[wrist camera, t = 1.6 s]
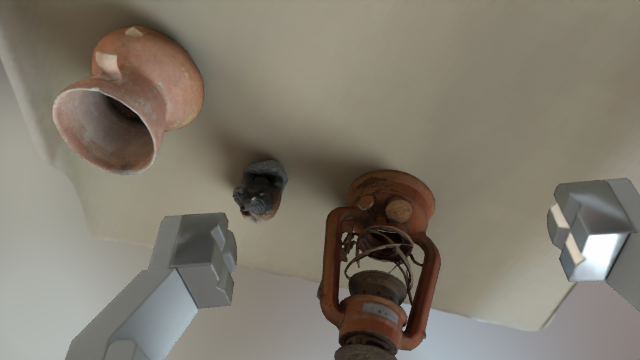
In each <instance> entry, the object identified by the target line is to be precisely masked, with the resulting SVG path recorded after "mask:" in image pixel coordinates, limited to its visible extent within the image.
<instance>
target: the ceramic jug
mask: <svg viewBox="0 0 640 360" xmlns="http://www.w3.org/2000/svg"><path fill="white" fill-rule="evenodd" d="M92 74H93V77H88V78H85V79H82V80H80V81H78V82H76V83H74V84H72V85H70V86H68V87H67V88H65V89H64V90H63V91H62V92H61V93H60V94H59V95H58V96H57V97H56V99H55V101H54V103H53V107H52V116H53V120H54V123H55V125H56V127H57V129H58V131H59V133H60V135H61V136H62V137H63V138H64V140H65V141H66V143H67V144H68V145H69V146H70V147H71V148H72V150H73V151H74V152H75V153H77V154H78V155H79V156H80V157H81V158H82V159H84V160H85V161H86V162H87V163H89V164H91V165H92V166H94V167H96V168H98V169H102V170H104V171H106V172H108V173H112V174H116V175H136V174H139V173H142V172H143V171H145V170H147V169H148V168H149V167H150V166H151V165H152V164H153V162H154V160H155V159H156V156H157V154H158V152H159V149H160V146H161V143H162V140H163V136H164V131H172V130H177V129H180V128H183V127H185V126H186V125H188V124H190V123H191V122H192V121H193V120H194V119H195V118H196V117H197V115H198V114H199V112H200V110H201V107H202V104H203V100H204V85H203V80H202V77H201V74H200V72H199V70H198V68H197V66H196V64H195V63H194V61H193V60H192V58H191V57H190V55H189V54H188V53H187V52H186V51H185V50H184V49H183V48H182V47H181V46H180V45H179V44H178V43H176V42H175V41H174V40H172V39H170V38H169V37H167V36H165V35H163V34H161V33H159V32H157V31H154V30H151V29H148V28H145V27H142V26H139V25H134V26H132V27H126V28H121V29H117V30H114V31H112V32H110V33H108V34H107V35H105V36H104V37H103V38H102V39H101V40H100V41H99V42H98V44H97V45H96V47H95V50H94V52H93V56H92Z"/></svg>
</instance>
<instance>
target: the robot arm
mask: <svg viewBox="0 0 640 360" xmlns="http://www.w3.org/2000/svg"><path fill="white" fill-rule="evenodd" d="M554 197H555V199H556V201H557V202H555V203H554V204H553V205H551V206H550V207H549V211H548V215H547V227H548V232H549V236H550V238H551V241H552V243H553V244H554V245H555V246H556V247H558V248H559V249H561V250H562V253H561V255H560V258H559V260H560V262H561V265H562V267H563V269H564V272H565V274H566V276H567V279H568V281H569V282H579V281H599V280H600V281H601V280H606V283H607V284H608V285H609V286H611V287H612V288H613V289H614V290H615V291H616V292H618V293H619V294H620V295H621V296H622V297H623V298H624V299H626V300H627V301H628V302H629V303H630V304H631V305H632V306H633V307H635V308H636V309H637V310H638V311H639V312H640V195H639V194H638V192H637V190H636V189H635V187H634V186H633V184H632V183H631V181H630V180H628V179H627V178H619V179H607V180H593V181H583V182H572V183H562V184H559V185H558V186H557V187H556V189H555V192H554ZM227 228H228V219H227V217H226V215H225V213H207V214H190V215H177V216H165V217H164V219H163V220H162V221H161V224H160V228H159V231H158V235H157V239H156V242H155V246H154V249H153V253H152V257H151V260H150V264H149V267H148V270H143V271H141V272H140V273H139V274H138V275H137V276H136V277H135V278H134V279H133V280H132V281H131V282H130V283H129V284H128V285H127V286H126V287H125V288H124V289H123V290H122V291H121V292H120V293H119V294H118V295H117V296H116V297H115V298H114V299H113V300H112V301H111V302H110V303H109V304H108V305H107V306H106V307H105V308H104V309H103V310H102V311H101V312H100V313H99V314H98V315H97V316H96V317H95V318H94V319H93V320H92V321H91V323H89V324H88V325H87V326H86V327H85V328H84V329H83V330H82V331H81V332H80V333H79V334H78V335H77V336H76V337H75V338H74V339H73V340H72V342H71V344H70V347H69V350H68V353H67V355H66V358H65V360H164V358H165V357H166V355H167V354H168V353H169V351H170V350H171V348H172V347H173V346H174V344H175V343H176V341H177V340H178V339H179V337H180V336H181V334H182V333H183V332H184V330H185V329H186V327H187V326H188V325H189V323H190V322H191V321H192V319H193V318H194V316H195V315H196V314H197V312H198V309H199V308H209V307H220V306H230V305H231V300H232V293H233V286H234V282H233V279H232V277H231V273H232V272H233V270H234V269H235V268H236V262H237V246H236V241H235V237H234V235H233V232H231V231H230V230H228V229H227Z"/></svg>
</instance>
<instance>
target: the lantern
mask: <svg viewBox="0 0 640 360" xmlns="http://www.w3.org/2000/svg"><path fill="white" fill-rule="evenodd" d="M347 205H348V207H337V208H336V209H334V210H332V211H331V212H330V213H329V215H328V217H327V220H326V233H325V245H324V256H323V274H322V280H321V283H320V286H319V288H318V292H317V297H318V299H319V300H320V305H321V309H322V312H323V314H324V315H325V317H326V319H327V320H329V321H330V322H331V323H332V324H334V325H335V326H336V327H337V328H338V330H339V344H340V345H341V346H342V347H341V348H339V349H338V350H337V351H336V352H335V356H334V357H335V360H397V359H396V357H395V355H396V354H397V351H398V349H400V350H409V351H411V350H412V349H414V348H416V347H417V346H418V345H419V344H420V343H421V342H422V340H423V339H425V338H426V333H425V329H426V325H427V320H428V316H429V311H430V307H431V302H432V298H433V294H434V291H435V286H436V282H437V278H438V274H439V270H440V266H441V258H440V254H439V251H438V249H437V248H436V246H435V245H434V243H433V242H432V241H431V239H430V238H428V237H427V236H426V229H427V226H428V221H429V220H430V218H431V217H432V215H433V214H434V210H435V199H434V196H433V194H432V192H431V191H430V189H429V188H428V187H427V186H426V185H425V184H424V183H423V182H421V181H420V180H419V179H417V178H416V177H414V176H411V175H409V174H407V173H403V172H399V171H393V170H377V171H373V172H369V173H366V174H364V175H362V176H360V177H359V178H357V179H356V180H355V181H354V182H353V183H352V184H351V185H350V187H349V189H348V192H347ZM375 229H382V230H385V231H393V232H396V233H389V232H382V231H378V230H375ZM353 230H354V232H355V233H353ZM344 232H348V234H347V237H346V238H345V239H344V241H343V243H342V240H341V238H342V234H343V233H344ZM354 235H357V236H358V239H357V242H356V241H354V240H353V241H351V240H352V239H353V238H354ZM355 243H356V257H355V258H354V259H353V260H352V261H351V262H350V263H349V264H348V265H347V267H346V269H345V271H344V272H345V276H346V278H347V279H349V284H348V285H349V292H350V295H351V296H349V297H347V298H345V299H344V300H342V301H341V302H340V304H339V299H338V292H339V278H340V263H341V261H344V262H347V260H348V259H347V257H346V255H347V252H348V254H349V252H350V249H352V248H353V245H354V244H355ZM413 243H415V244H417V245H419V246H420V247H421V248H422V250H423V251H424V254H425V257H424V262H423V264H419V263H418V262H416V261H415V260H414V257H413V255H412V254H411V252H412V249H413V246H414V244H413ZM342 245H344V248H342ZM359 249H360V250H361V251H362V252H363V253H361V254H359ZM366 256H368V257H370V258H372V259H374V260H378V261H382V262H394V263H395V264H396V266H398V267H399V269H400V270H401V271H402V273H403V275H404V278H405V282H406V286H407V290H406V286H405V285H404V283H403V282H402V281H401V280H399V278H397V277H395V276H393V275H392V274H389V273H390V272H391V271H392V270H393V269H394V268H395V267H396V266H395V267H394V268H393V269H392V270H391V271H390V272H389V273H387V272H383V271H378V270H367V271H361V272H359V273H356V274H354V275H353V276H352V277H349V276H348V275H347V274H346V272H347V269H348V268H349V267H350V265H351V264H352V263H353V262H355V261H356V262H357V264H358V268H360V264H359V262H360V259H362V258H363V257H366ZM408 256H410V257H411V260H412V261H413V262H414V263H415V264H416V265H419V266H421V267H422V271H421V275H420V278H419V282H418V286H417V289H416V293H415V296H414V300H413V301H412V297H411V293H410V290H411V288H412V286H413V273H412V270H411V267H410V264H409V262H408V260H407V257H408ZM397 262H398V263H397ZM403 263H404V264H405V266H406V268H407V270H406V274H405V272H404V271H403V269H402V268H401V267H400V264H403ZM407 271H408V273H409V277H410V279H409V278H408V273H407ZM406 275H407V276H406ZM407 279H408V280H407ZM410 283H411V285H410ZM409 285H410V287H409ZM407 293H408V296H409V300H410V303H411V306H412V307H411V311H410V314H409V318H408V321H407V315H406V313H405V311H404V310H403V308H402V307H401V306H400V305H401V304H402V302H403V301H404V300H405V298H406V294H407ZM406 323H407V326H406V330H405V331H404V332H403V331H402V328H403V327H404V326H405V325H406Z"/></svg>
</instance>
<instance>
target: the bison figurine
mask: <svg viewBox="0 0 640 360" xmlns="http://www.w3.org/2000/svg"><path fill="white" fill-rule="evenodd" d="M287 181H288V177H287V174H286V173H285V171H284V170H283V168H282V167H281V165H280V164H279V163H278V162H276V161H273V160H266V161H262V162H256V163H253V164H250V165H249V166H247V167H246V168H245V169H244V170H243V178H242V182H241V183H242V184H243V186H241V187H237V188H236V189H235V190H234V192H233V198H234V200H235V202H236V203H237V204H238V205H239V206H240V212H241V214H242V215H243V217H244V218H245V219H247V220H249V221H251V222H253V223H257V224H260V223H264V222H266V221H268V220H270V219H271V218H273V217H274V215H275V214H276V212H277V210H278V208H279V205H280V202H281V196H282V192H283V189H284V187H285V185H286V183H287Z"/></svg>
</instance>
